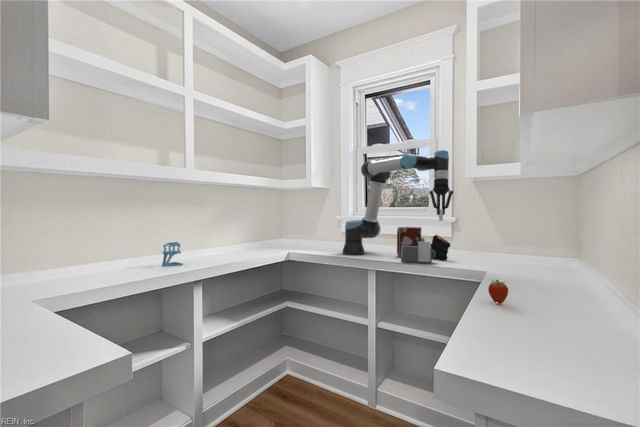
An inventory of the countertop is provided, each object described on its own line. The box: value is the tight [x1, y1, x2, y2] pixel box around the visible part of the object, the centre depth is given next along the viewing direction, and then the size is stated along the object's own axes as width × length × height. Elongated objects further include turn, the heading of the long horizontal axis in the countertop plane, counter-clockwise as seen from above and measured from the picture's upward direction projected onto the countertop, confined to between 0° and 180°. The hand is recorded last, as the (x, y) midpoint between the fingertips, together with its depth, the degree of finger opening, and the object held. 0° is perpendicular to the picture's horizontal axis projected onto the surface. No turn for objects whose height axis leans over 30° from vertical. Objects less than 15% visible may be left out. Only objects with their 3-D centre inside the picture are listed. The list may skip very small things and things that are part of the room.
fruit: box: [488, 277, 509, 304], centre depth 97 cm, size 5×5×8 cm
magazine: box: [430, 234, 451, 262], centre depth 192 cm, size 4×13×15 cm, turn 29°
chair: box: [161, 241, 184, 267], centre depth 160 cm, size 8×8×12 cm
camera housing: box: [400, 245, 435, 265], centre depth 180 cm, size 18×10×10 cm, turn 80°
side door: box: [418, 241, 431, 262], centre depth 174 cm, size 6×1×11 cm, turn 80°
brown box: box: [396, 225, 426, 258], centre depth 203 cm, size 9×19×20 cm, turn 89°
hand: (440, 220), depth 173 cm, fingers closed
